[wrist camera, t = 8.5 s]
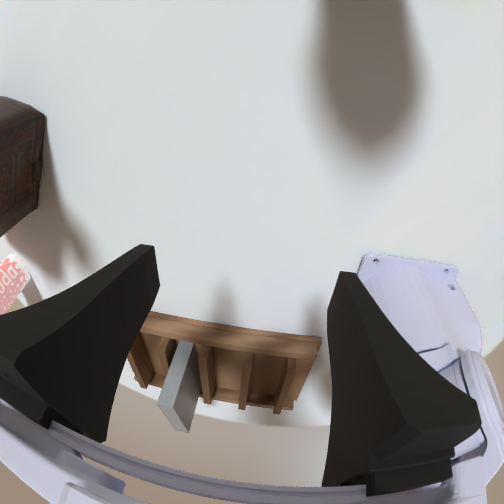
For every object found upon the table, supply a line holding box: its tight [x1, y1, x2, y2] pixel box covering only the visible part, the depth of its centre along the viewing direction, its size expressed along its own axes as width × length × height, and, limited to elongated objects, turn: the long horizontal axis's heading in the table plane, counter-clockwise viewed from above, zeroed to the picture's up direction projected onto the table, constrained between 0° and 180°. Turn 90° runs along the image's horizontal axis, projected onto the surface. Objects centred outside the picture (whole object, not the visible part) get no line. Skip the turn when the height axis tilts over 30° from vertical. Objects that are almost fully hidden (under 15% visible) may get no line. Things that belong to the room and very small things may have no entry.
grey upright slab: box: [157, 340, 202, 433], centre depth 28 cm, size 2×7×8 cm, turn 1°
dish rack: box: [127, 311, 322, 414], centre depth 30 cm, size 22×13×4 cm, turn 86°
